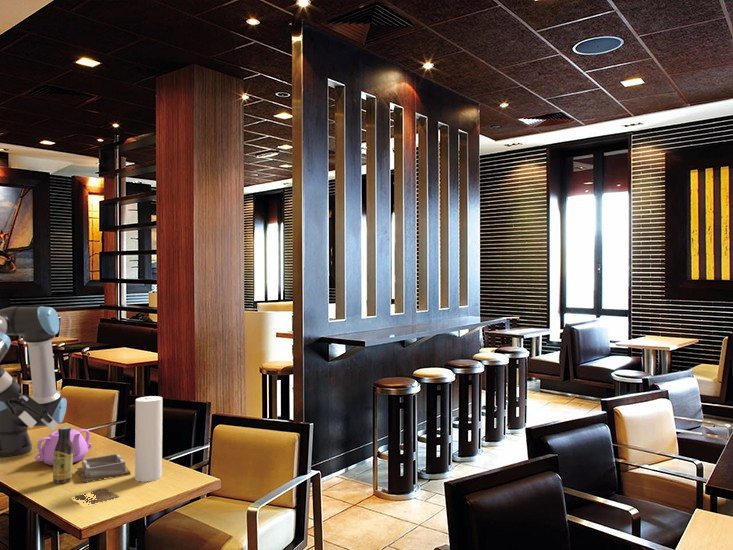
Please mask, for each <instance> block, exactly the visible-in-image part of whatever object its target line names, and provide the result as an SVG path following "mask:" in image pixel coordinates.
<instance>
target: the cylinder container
mask: <svg viewBox="0 0 733 550" xmlns="http://www.w3.org/2000/svg"><path fill="white" fill-rule="evenodd" d="M134 431H135V432H134V433H135V437H134V438H135V439H134V441H135V442H134V451H135V452H134V480H135V481H136V480H137V482H139V481H141V483H145V482H147V481H148V483H149V482H153V481H157V480H159V479H161V478H162V477H163V397H162V396H159V395H158V396H156V395H154V396H153V395H149V396H141V397H138V398H136V399H135V429H134Z"/></svg>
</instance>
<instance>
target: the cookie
mask: <svg viewBox="0 0 733 550" xmlns="http://www.w3.org/2000/svg"><path fill="white" fill-rule="evenodd" d="M109 491H110V490H108V489H107V488H104V489H103V488H98V489H95V490H93V491H92V490H91V491H90V492H91V494H94V496H95V495H96V498H95V499H97V500H95V499H94V500H92V499H93V498H91V499H89V500H91V501H89V500H88V498H90V497H88V498H87V499H86V497H87V496H86V497H85V496H84V495H86V493H81V494H82V495H81V494H77V495H74V497H75V499H76V498H77V499H76V500H79V499H80V500H85V499H86V500H87V501H86V500H85V501H86V503H87V502H88V501H89V503H90V502H91V504H95V503H98V502H102V503H104V502H103V501H105V502H108V501H107V500H109V501H111V499H112V500H115V499H117V498H120V496H119V494H116V493H114V492H112V491H110V492H109ZM92 492H93V493H92ZM83 494H84V495H83ZM94 496H93V497H94ZM114 498H115V499H114ZM73 499H74V498H73ZM83 503H84V502H83ZM88 505H89V504H88ZM95 505H96V504H95Z"/></svg>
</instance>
